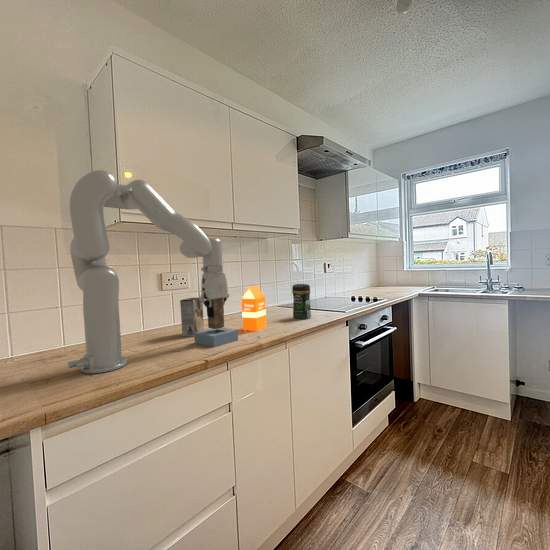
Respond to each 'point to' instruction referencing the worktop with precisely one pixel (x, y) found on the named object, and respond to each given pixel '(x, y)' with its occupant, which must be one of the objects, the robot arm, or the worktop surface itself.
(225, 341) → the socket block
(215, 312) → the peg
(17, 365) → the worktop surface
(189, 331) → the coffee box
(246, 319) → the orange juice
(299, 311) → the coffee jar
